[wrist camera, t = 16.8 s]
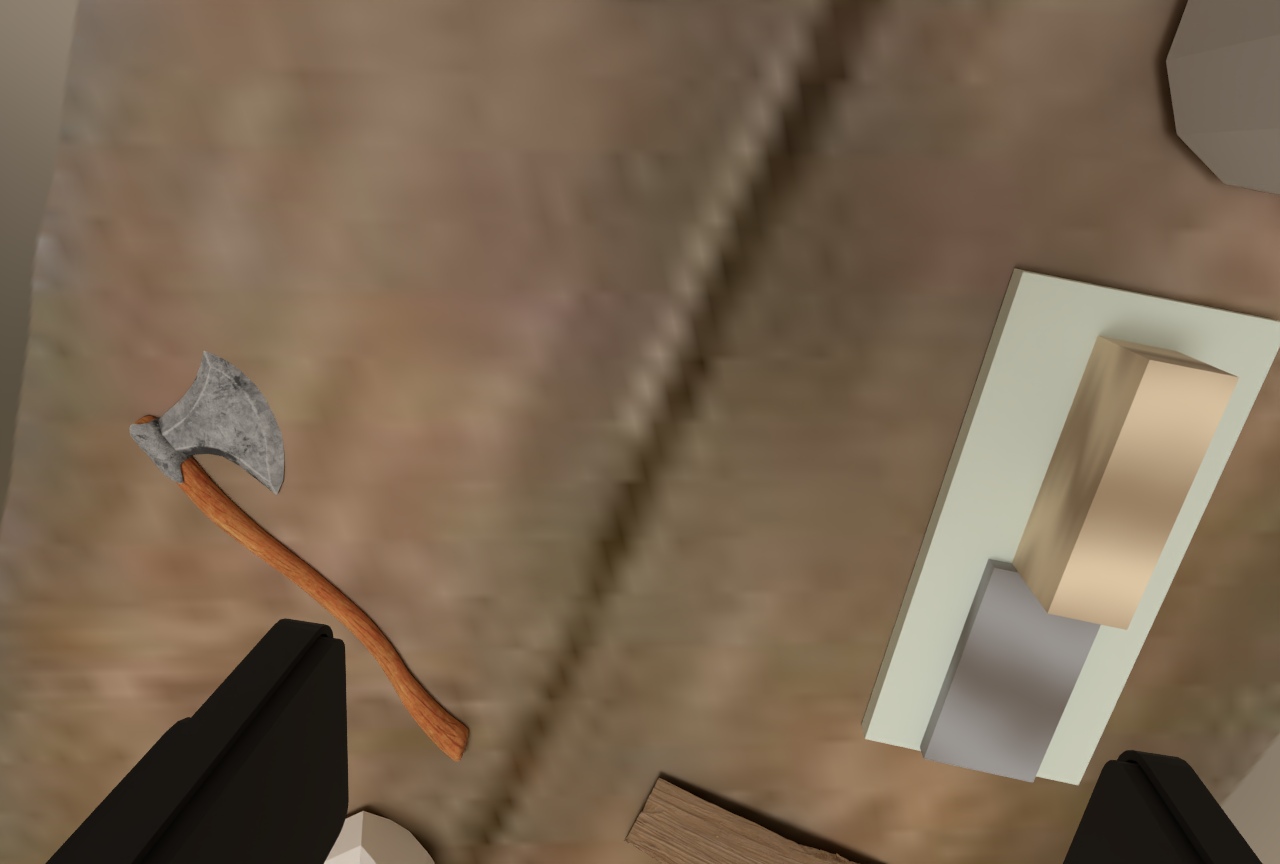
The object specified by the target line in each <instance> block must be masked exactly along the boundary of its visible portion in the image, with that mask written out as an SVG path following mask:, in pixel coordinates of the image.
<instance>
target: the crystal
mask: <svg viewBox="0 0 1280 864" xmlns="http://www.w3.org/2000/svg"><path fill="white" fill-rule="evenodd" d="M324 864H435V863H434V861H433V859H432V858H431V856H430V855H429V854H428V852H427V851H426V850H425V849H424V847H423V846H422V845H421V844H420V843H419V842H418V841H417V839H416V838H415V837H414V836H413V835H412V834H411V833H410V831H408V830H407V829H405V828H403V827H402V826H400V825H398V824H397V823H395V822H393V821H392V820H390V819H387V818H384V817H381V816H378V815H374V814H371V813H368V812H365V811H362V812H359V813H357V814H355V815H353V816H351V817H349V818H346V819H345V822H344V825H343V828H342V830H341V832H340V834H339V836H338V838H337V840H336V842H335V844H334V846H333V848H332V849H331V851H330V853H329V855H328V857H327V859H326V861H325V862H324Z"/></svg>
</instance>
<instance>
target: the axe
mask: <svg viewBox="0 0 1280 864" xmlns="http://www.w3.org/2000/svg"><path fill="white" fill-rule="evenodd" d="M129 431H130V435H131V437H132V438H133V439H134V441H135V442H136V443H137V444H138V445H139V446H140V448H141V449H142V450H143V451H144V452H145V453H146V454H147V455H148V456H149V457H150V458H151V460H152V461H153V462H154V463H155V464H156V466H157V467H158V468H159V469H160V470H161V471H162V472H163V473H164V474H165V475H166V476H167V477H169V478H170V479H172V480H173V481H175V482H176V483H177V484H178V486H179V487H180V488H181V489H182V490H183V491H184V492H185V493H186V494H187V496H188V497H189V498H190V499H191V500H192V501H193V502H194V503H195V504H196V505H197V506H198V507H199V508H200V509H201V510H202V511H203V512H204V513H205V514H206V515H207V516H208V517H209V518H210V519H211V520H212V521H213V522H214V523H215V524H216V525H218V526H219V527H220V528H221V529H222V530H224V531H225V532H226V533H228V534H229V535H230V536H232V537H233V538H234V539H235V540H237V541H238V542H239V543H241V544H242V545H243V546H245V547H246V548H247V549H249V550H250V551H252V552H253V553H254V554H256V555H257V556H258V557H260V558H261V559H263V560H264V561H265V562H267V563H268V564H269V565H271V566H272V567H273V568H275V569H276V570H278V571H279V572H281V573H282V574H283V575H285V576H286V577H287V578H289V579H290V580H292V581H293V582H294V583H296V584H297V585H298V586H299V587H301V588H302V589H303V590H304V591H305V592H307V593H308V594H309V595H310V596H311V597H312V598H314V599H315V600H316V601H317V602H318V603H319V604H320V605H322V606H323V607H324V608H325V609H326V610H327V611H329V612H330V613H331V614H332V615H333V616H334V617H336V618H337V619H338V620H339V621H340V622H341V623H343V624H344V625H345V626H346V627H347V628H348V629H349V630H350V631H351V632H352V633H353V634H354V635H355V636H356V637H357V638H358V639H359V640H360V641H361V642H362V643H363V644H364V646H365V647H366V648H367V649H368V650H369V652H370V653H371V654H372V655H373V656H374V657H375V659H376V660H377V661H378V663H379V664H380V666H381V667H382V669H383V670H384V672H385V674H386V675H387V677H388V678H389V680H390V682H391V683H392V685H393V687H394V689H395V690H396V692H397V694H398V696H399V697H400V699H401V701H402V703H403V704H404V706H405V707H406V709H407V710H408V711H409V713H410V714H411V716H412V717H413V718H414V719H415V721H416V722H417V723H418V724H419V726H420V727H421V728H422V729H423V730H424V732H425V733H426V734H427V735H428V736H429V737H430V738H431V739H432V741H433V742H434V743H435V744H436V745H437V746H438V747H439V748H440V749H441V750H442V751H443V752H444V753H445V754H447V755H448V756H449V757H450V758H452V759H453V760H454V761H459V760H461V758H462V755H463V752H464V749H465V747H466V744H467V739H468V735H469V731H468V729H467V728H466V727H465V726H464V725H463V724H462V723H460V722H459V721H458V720H456V719H455V718H454V717H452V716H451V715H450V714H449V713H447V712H446V711H445V710H444V709H443V708H442V707H441V706H440V705H439V704H437V703H436V702H435V701H434V700H433V699H432V698H431V697H430V696H429V695H428V693H427V692H426V691H425V690H424V689H423V688H422V686H421V685H420V684H419V683H418V682H417V681H416V680H415V679H414V678H413V677H412V675H411V674H410V673H409V672H408V670H407V669H406V667H405V665H404V664H403V662H402V660H401V659H400V657H399V655H398V654H397V652H396V651H395V649H394V648H393V647H392V645H391V644H390V643H389V641H388V640H387V639H386V638H385V636H384V635H383V634H382V633H381V631H380V630H379V629H378V628H377V626H376V625H375V624H374V623H373V622H372V621H371V620H370V619H369V618H368V617H367V616H366V615H365V614H364V613H363V612H362V611H361V610H360V609H359V608H358V607H357V606H356V605H355V604H354V603H353V602H351V601H350V600H349V599H348V598H347V597H346V596H344V595H343V594H342V593H341V592H340V591H339V590H337V589H336V588H335V587H334V586H333V585H332V584H330V583H329V582H328V581H327V580H326V579H324V578H323V577H322V576H321V575H320V574H319V573H317V572H316V571H315V570H314V569H313V568H311V567H310V566H309V565H307V564H306V563H305V562H304V561H302V560H301V559H300V558H298V557H297V556H296V555H294V554H293V553H292V552H290V551H289V550H288V549H287V548H285V547H284V546H283V545H282V544H280V543H279V542H278V541H277V540H275V539H274V538H273V537H271V536H270V535H269V534H268V533H267V532H265V531H264V530H263V529H262V528H261V527H259V526H258V525H257V524H256V523H255V522H254V521H253V520H251V519H250V518H249V517H248V516H247V515H246V514H245V513H244V512H243V511H242V510H240V509H239V508H238V507H237V506H236V505H235V504H234V503H233V502H232V501H231V500H230V499H229V498H228V497H227V496H226V495H225V494H224V493H223V492H222V491H221V490H220V489H219V488H218V487H217V486H216V485H215V484H214V482H213V481H212V480H211V479H210V478H209V477H208V475H207V474H206V473H205V472H204V471H203V469H202V468H201V467H200V466H199V465H198V463H197V462H196V461H195V460H194V459H193V458H192V455H195V454H213V455H219V456H223V457H225V458H227V459H228V460H230V461H232V462H234V463H236V464H237V465H239V466H241V467H242V468H243V469H244V470H246V471H247V472H248V473H249V474H251V475H252V476H253V477H254V478H256V479H257V480H258V481H260V482H261V483H262V484H263V485H265V486H266V487H267V488H268V489H270V490H271V491H272V492H273V493H275V494H276V495H277V493H278V491H279V489H280V486H281V484H282V482H283V475H284V448H283V439H282V434H281V431H280V429H279V427H278V424H277V422H276V419H275V417H274V415H273V413H272V411H271V409H270V407H269V405H268V403H267V401H266V399H265V397H264V396H263V394H262V393H261V392H260V391H259V389H258V388H257V386H256V385H255V384H254V383H253V382H252V381H251V380H250V379H249V378H248V377H247V376H246V375H245V374H243V373H242V372H241V371H240V370H239V369H237V368H236V367H235V366H233V365H232V364H230V363H229V362H227V361H226V360H224V359H222V358H220V357H218V356H217V355H214V354H212V353H209V352H206V351H204V353H203V358H202V363H201V366H200V368H199V371H198V374H197V377H196V379H195V381H194V383H193V385H192V386H191V388H190V389H189V390H188V392H187V393H186V394H185V396H184V397H183V398H182V399H181V400H180V401H178V402H177V403H176V404H175V405H174V406H173V407H172V408H171V409H170V410H169V411H167V412H166V413H165V414H164V415H163V416H162V417H161V418H160V419H159V418H155V417H153V416H145V417H143V418H141V419H139V420H138V421H136V422H135V424H133V425H130V430H129Z"/></svg>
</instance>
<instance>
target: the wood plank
mask: <svg viewBox="0 0 1280 864" xmlns="http://www.w3.org/2000/svg"><path fill="white" fill-rule="evenodd" d="M624 841H626V842H628V843H630V844H632V845H633V846H635V847H636V848H638V849H640V850H641V851H643V852H645V853H647V854H648V855H650V856H651V857H652V858H655V859H656V860H657V861H659V862H660V863H661V864H859V863H855V862H852V861H851V862H850V861H849V860H847V859H845V858H843V857H841V856H839V855H838V854H837V853H836V854H831V853H828V852H826V851H823V850H821V849H820V851H819V850H818V849H815V848H812V847H809V846H808V847H807V846H803V845H801V844H800V845H799V844H797V843H795V842H794V841H791V840H789V839H786V838H784V837H782V836H780V835H778V834H776V833H774V832H772V831H770V830H768V829H766V828H764V827H762V826H760V825H758V824H756V823H754V822H752V821H749V820H747V819H745V818H743V817H740V816H738V815H735V814H733V813H731V812H728V811H726V810H724V809H722V808H720V807H719V806H716V805H714V804H712V803H710V802H708V801H705V800H703V799H701V798H699V797H697V796H695V795H693V794H691V793H689V792H687V791H685V790H683V789H681V788H679V787H677V786H675V785H673V784H671V783H669V782H667V781H665V780H663V779H661V778H659V779H658V780H657V783H656V785H655V787H654V788H653V791H652V793H651V794H650V795H649V798H648V800H647V802H646V804H645V807H644V809H643V811H642V812H641V813H640V815H639V817H638V818H637V820H636V822H635V823H634V826H633V827H632V829H631V831H630V833H629V835H628V836H627V837H626V839H625V840H624Z"/></svg>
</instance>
